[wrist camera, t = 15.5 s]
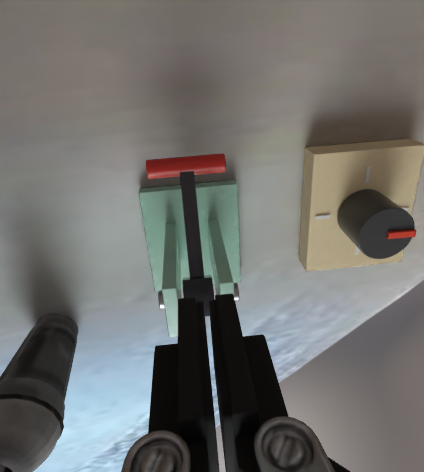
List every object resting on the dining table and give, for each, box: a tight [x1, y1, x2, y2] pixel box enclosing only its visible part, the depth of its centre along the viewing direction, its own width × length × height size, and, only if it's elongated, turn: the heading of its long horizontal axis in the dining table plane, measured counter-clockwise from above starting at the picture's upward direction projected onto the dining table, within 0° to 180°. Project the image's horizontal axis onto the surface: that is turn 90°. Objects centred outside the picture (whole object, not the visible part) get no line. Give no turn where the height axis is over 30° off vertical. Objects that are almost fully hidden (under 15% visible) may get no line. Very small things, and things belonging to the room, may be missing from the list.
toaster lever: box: [146, 154, 226, 316], centre depth 28 cm, size 12×6×2 cm, turn 4°
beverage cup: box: [0, 314, 78, 472], centre depth 32 cm, size 7×7×20 cm
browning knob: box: [337, 189, 416, 259], centre depth 32 cm, size 5×5×5 cm
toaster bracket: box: [139, 180, 241, 337], centre depth 32 cm, size 11×9×12 cm
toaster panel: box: [299, 139, 424, 271], centre depth 35 cm, size 12×10×3 cm
